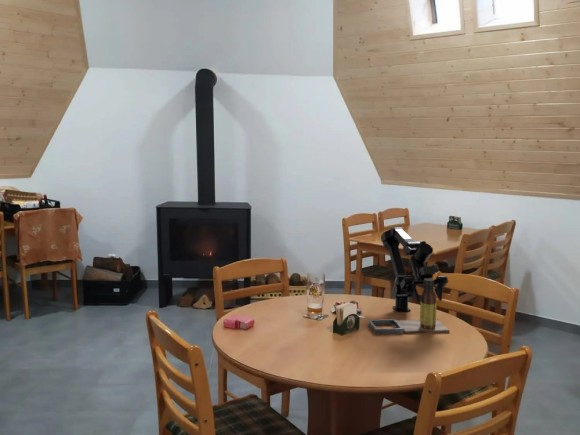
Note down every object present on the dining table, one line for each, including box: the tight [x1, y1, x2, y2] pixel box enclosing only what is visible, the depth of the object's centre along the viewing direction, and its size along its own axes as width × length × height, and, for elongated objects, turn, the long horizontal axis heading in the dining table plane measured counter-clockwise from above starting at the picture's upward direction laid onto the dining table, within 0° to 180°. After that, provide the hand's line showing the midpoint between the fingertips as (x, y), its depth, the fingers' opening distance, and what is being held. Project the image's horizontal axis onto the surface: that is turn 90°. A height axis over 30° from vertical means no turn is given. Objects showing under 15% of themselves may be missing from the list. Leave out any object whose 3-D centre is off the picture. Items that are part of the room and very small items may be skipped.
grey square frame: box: [368, 318, 404, 335], centre depth 205 cm, size 11×11×2 cm
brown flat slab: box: [395, 318, 450, 335], centre depth 207 cm, size 13×18×1 cm
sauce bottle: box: [419, 277, 437, 329], centre depth 204 cm, size 7×6×20 cm
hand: (430, 301), depth 203 cm, fingers open, 9 cm apart
